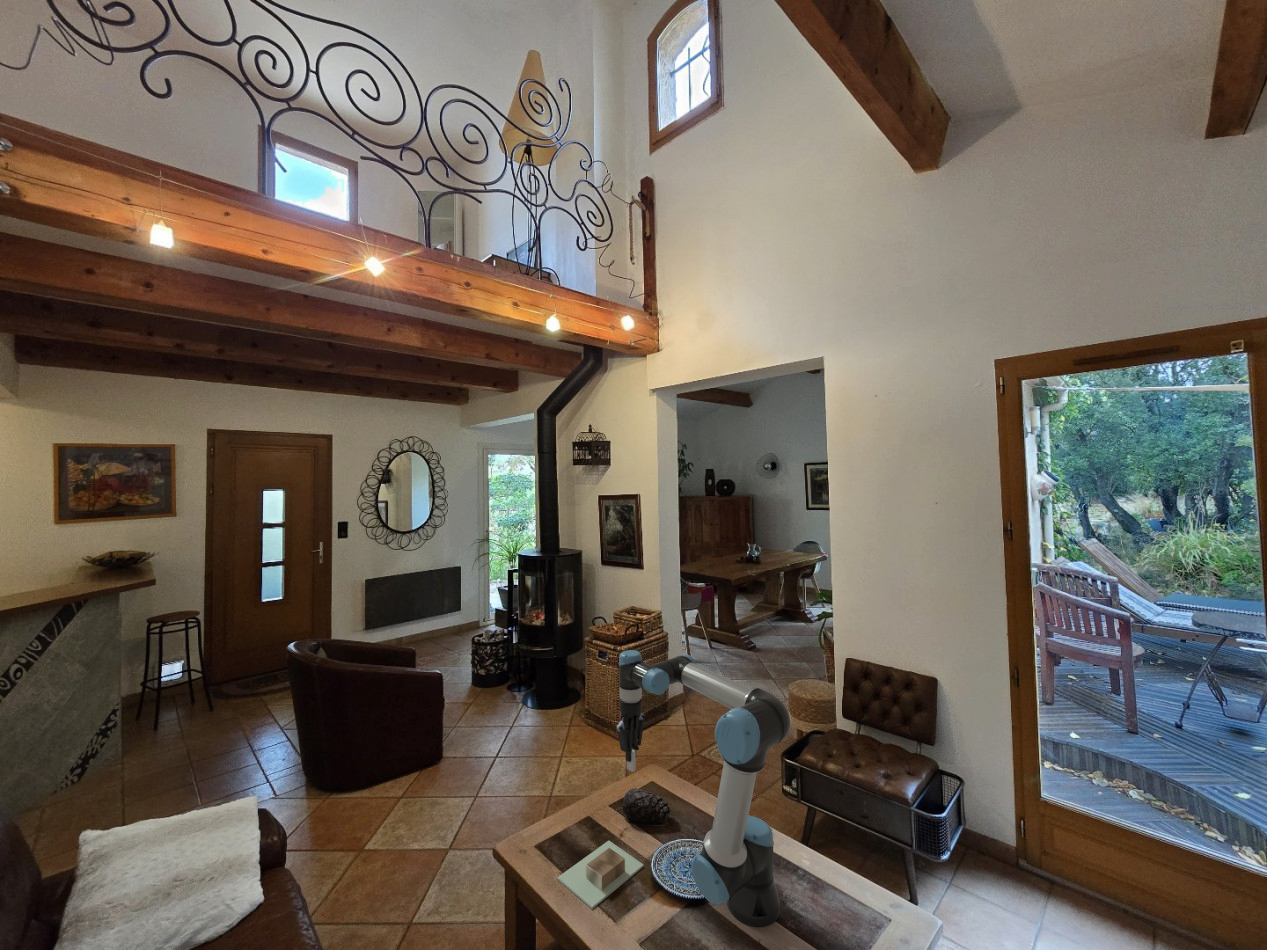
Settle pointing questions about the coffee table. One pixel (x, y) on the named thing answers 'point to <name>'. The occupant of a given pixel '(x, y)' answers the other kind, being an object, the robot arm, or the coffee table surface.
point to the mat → (585, 888)
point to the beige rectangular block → (605, 868)
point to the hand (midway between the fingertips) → (631, 769)
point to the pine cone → (645, 808)
